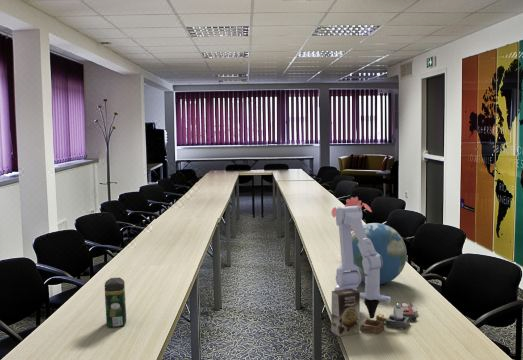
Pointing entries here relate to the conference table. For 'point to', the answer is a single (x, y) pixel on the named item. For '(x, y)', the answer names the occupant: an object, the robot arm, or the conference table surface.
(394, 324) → the block
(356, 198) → the figurine
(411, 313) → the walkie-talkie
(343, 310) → the coffee box
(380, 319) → the key
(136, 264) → the conference table surface
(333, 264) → the conference table surface
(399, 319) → the silver knobbed cylinder
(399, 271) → the globe
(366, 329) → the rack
